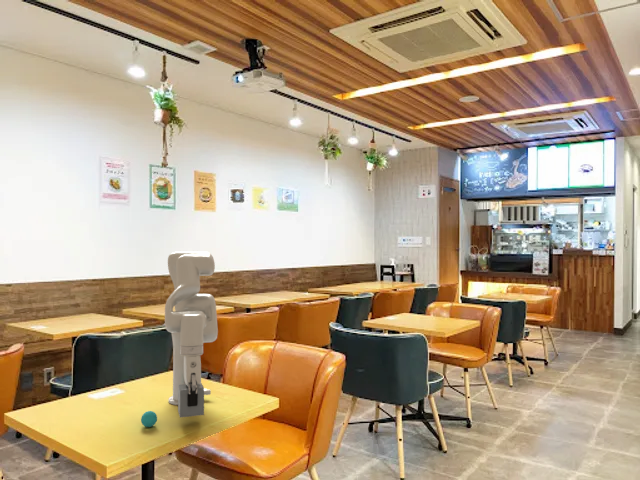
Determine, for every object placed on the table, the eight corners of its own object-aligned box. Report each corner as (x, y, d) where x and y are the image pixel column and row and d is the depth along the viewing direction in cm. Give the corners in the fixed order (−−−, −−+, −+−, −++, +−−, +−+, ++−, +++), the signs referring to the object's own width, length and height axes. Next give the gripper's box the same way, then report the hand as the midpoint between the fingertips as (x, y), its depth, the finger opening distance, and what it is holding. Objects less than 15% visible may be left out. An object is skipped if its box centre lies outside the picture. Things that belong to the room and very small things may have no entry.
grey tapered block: (200, 408, 171) (201, 382, 171) (203, 414, 164) (204, 388, 164) (178, 410, 168) (178, 384, 169) (180, 417, 161) (180, 390, 162)
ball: (156, 423, 165) (156, 408, 165) (157, 428, 161) (157, 412, 161) (140, 424, 164) (141, 409, 164) (141, 430, 159) (141, 414, 159)
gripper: (206, 353, 160) (205, 408, 159) (199, 345, 177) (199, 395, 176) (182, 355, 158) (182, 411, 157) (178, 346, 174) (177, 397, 173)
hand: (191, 402), depth 166 cm, fingers closed on grey tapered block, 7 cm apart
